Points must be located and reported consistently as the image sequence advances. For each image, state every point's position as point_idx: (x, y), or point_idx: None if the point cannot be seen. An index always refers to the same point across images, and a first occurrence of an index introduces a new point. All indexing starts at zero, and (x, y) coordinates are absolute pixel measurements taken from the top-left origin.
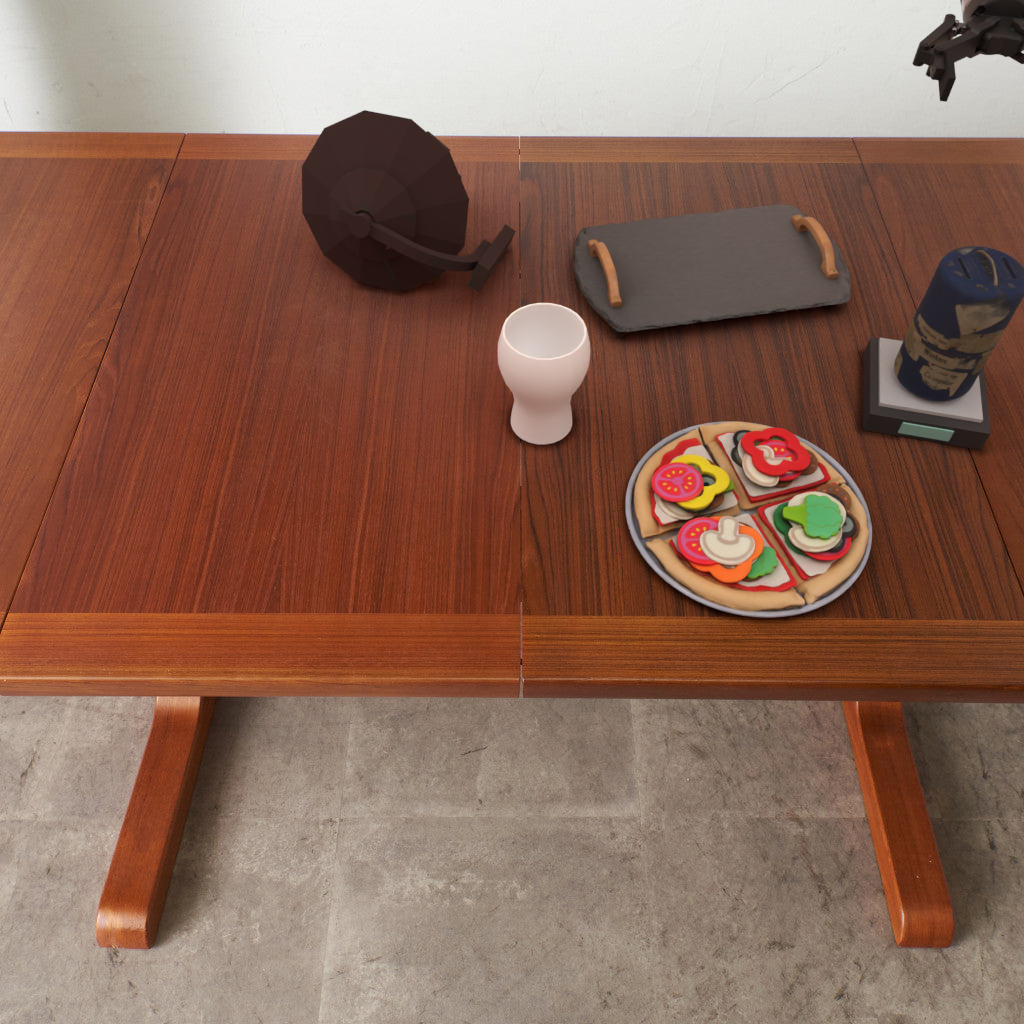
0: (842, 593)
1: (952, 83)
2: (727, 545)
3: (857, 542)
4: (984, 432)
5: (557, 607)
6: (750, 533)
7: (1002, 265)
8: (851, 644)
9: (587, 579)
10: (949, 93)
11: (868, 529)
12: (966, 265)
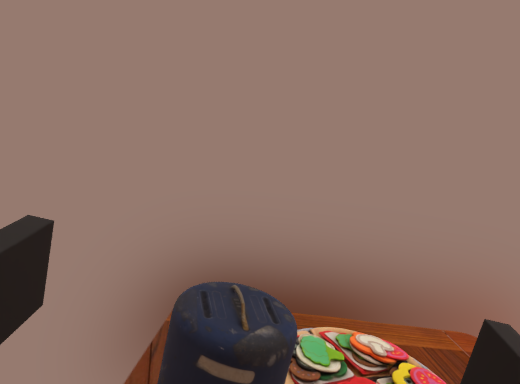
0: None
1: (482, 338)
2: (373, 341)
3: None
4: None
5: (448, 352)
6: (361, 346)
7: (215, 307)
8: None
9: (443, 363)
10: (467, 371)
11: None
12: (267, 312)
